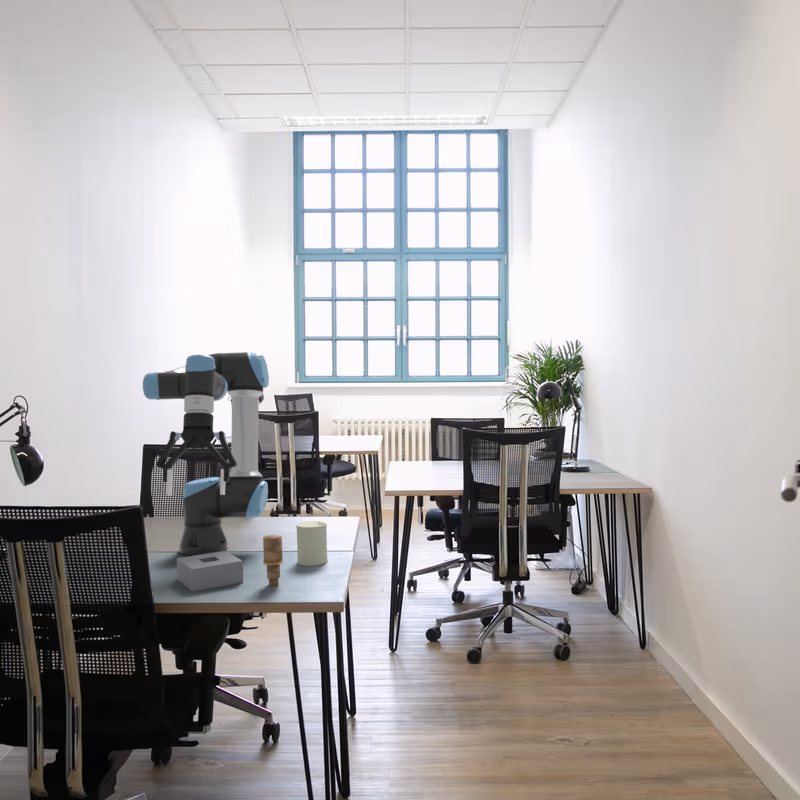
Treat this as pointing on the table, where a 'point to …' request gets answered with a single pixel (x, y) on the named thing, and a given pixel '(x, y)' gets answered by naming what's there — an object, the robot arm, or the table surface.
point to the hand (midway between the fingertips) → (195, 495)
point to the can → (312, 543)
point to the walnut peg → (273, 557)
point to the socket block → (209, 570)
